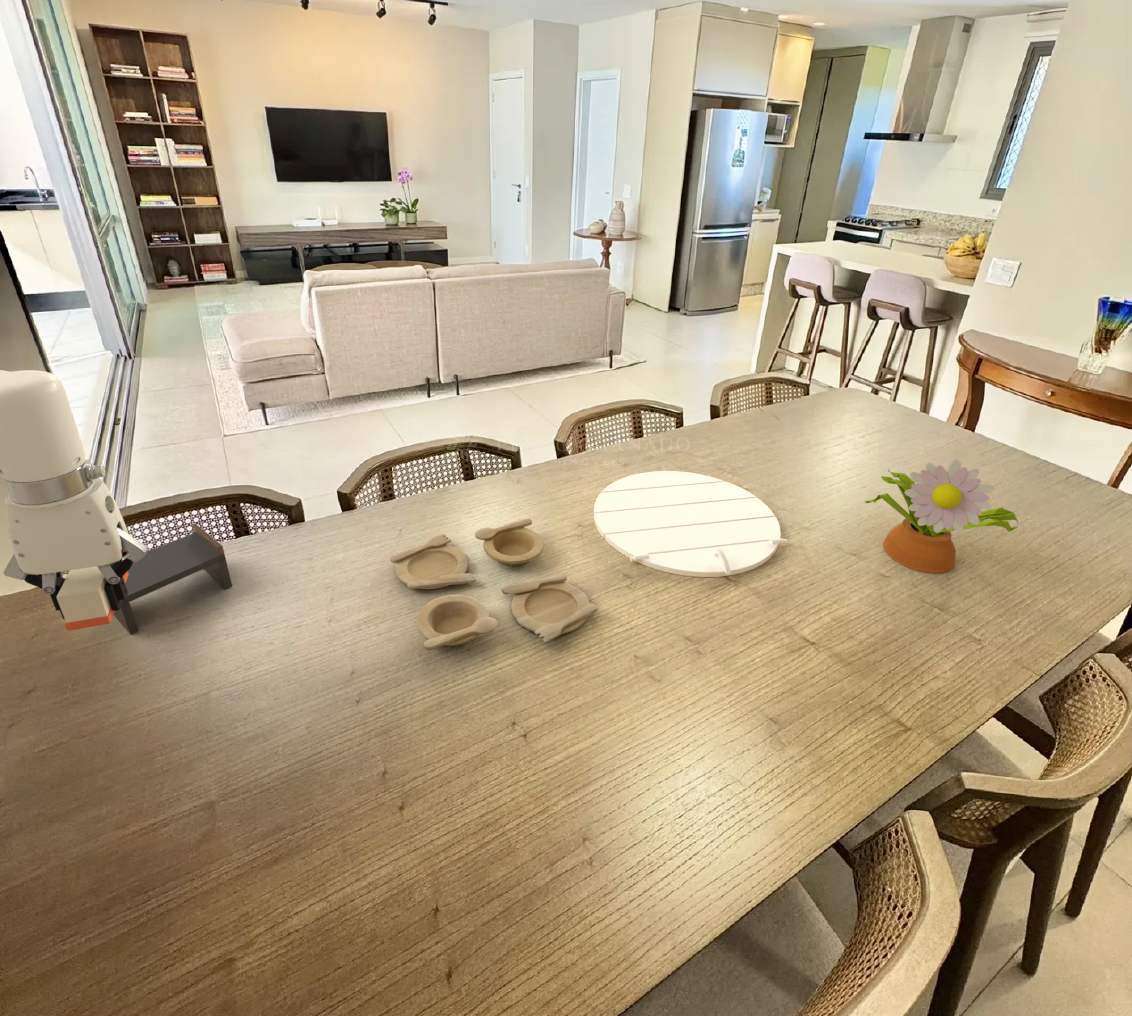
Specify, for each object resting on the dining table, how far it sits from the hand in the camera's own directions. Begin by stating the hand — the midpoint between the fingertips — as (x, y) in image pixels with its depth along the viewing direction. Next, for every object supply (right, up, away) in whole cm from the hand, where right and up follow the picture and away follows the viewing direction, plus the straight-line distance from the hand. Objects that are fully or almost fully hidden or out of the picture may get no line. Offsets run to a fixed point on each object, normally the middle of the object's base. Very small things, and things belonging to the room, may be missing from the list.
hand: (94, 606), depth 79 cm
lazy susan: (+85, +4, +56) cm, 102 cm away
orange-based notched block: (-1, 0, +2) cm, 2 cm away
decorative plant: (+132, -2, +49) cm, 141 cm away
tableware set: (+45, -6, +34) cm, 56 cm away
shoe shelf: (-8, -6, +29) cm, 31 cm away
